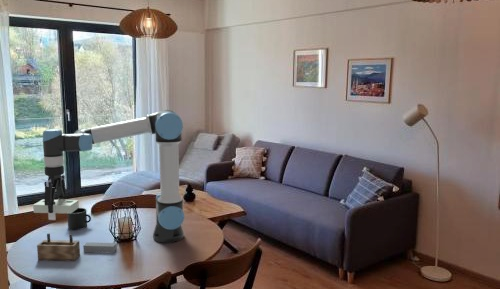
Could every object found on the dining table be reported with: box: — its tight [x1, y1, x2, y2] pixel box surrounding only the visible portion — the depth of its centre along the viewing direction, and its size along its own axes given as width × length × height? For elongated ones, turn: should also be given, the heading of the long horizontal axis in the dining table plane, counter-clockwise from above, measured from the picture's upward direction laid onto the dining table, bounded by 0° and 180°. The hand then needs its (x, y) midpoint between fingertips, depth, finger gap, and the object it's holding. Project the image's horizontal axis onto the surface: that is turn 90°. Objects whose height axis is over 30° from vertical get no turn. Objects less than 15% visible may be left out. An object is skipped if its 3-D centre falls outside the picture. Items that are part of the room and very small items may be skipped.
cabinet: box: [36, 233, 81, 262], centre depth 188 cm, size 16×6×10 cm, turn 89°
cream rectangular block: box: [32, 198, 80, 214], centre depth 185 cm, size 16×8×4 cm, turn 89°
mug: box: [66, 207, 92, 231], centre depth 227 cm, size 9×12×9 cm
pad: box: [82, 241, 118, 254], centre depth 197 cm, size 14×4×3 cm, turn 89°
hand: (57, 216), depth 186 cm, fingers closed on cream rectangular block, 8 cm apart
